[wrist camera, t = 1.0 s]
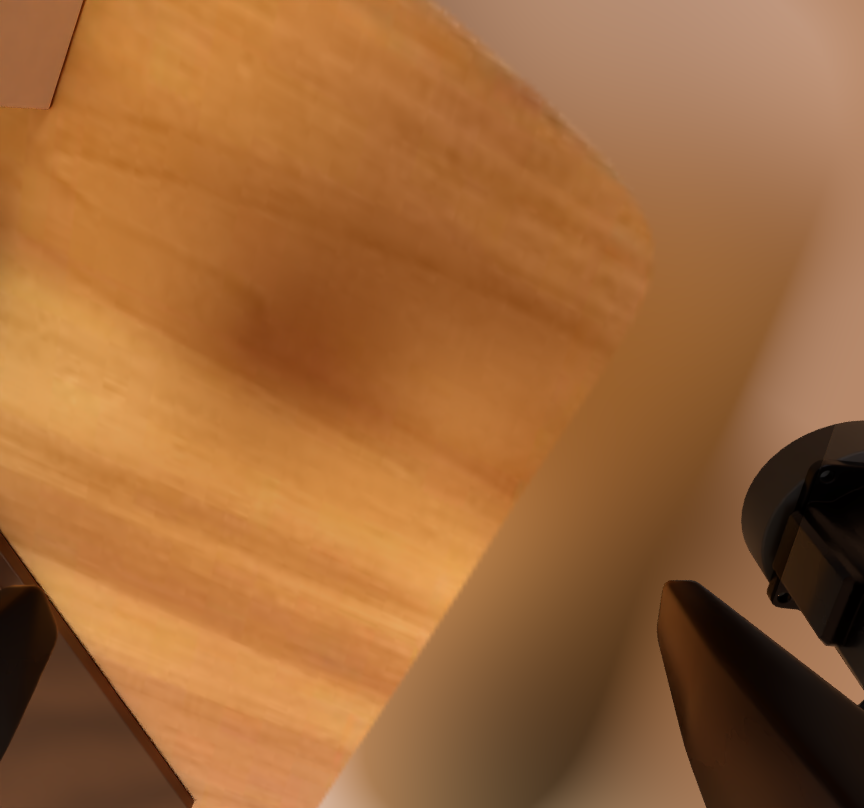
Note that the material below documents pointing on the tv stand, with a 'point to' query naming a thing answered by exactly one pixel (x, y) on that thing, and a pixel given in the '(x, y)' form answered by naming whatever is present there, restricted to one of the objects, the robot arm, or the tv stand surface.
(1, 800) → the brown boxy structure
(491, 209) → the tv stand surface
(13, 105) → the beige rectangular block
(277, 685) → the tv stand surface
